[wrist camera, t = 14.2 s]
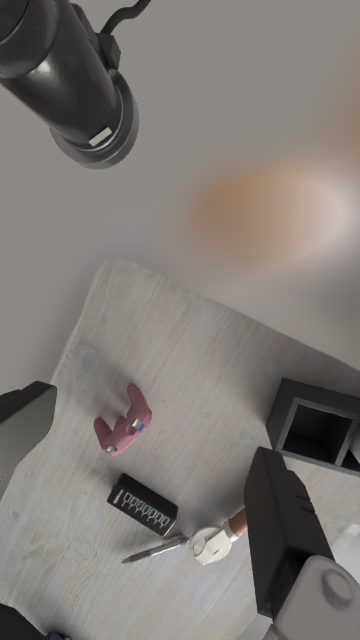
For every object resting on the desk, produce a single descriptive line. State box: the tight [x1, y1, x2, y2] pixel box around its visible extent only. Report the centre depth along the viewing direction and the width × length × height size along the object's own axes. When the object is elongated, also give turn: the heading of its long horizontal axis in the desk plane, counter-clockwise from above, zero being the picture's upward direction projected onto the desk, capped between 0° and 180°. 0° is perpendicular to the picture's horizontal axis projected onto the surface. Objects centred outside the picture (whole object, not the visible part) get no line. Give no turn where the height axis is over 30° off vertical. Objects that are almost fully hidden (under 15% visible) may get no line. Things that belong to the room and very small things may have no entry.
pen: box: [122, 535, 190, 564], centre depth 46 cm, size 1×14×1 cm, turn 121°
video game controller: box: [94, 384, 152, 456], centre depth 39 cm, size 10×5×7 cm, turn 137°
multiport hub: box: [107, 473, 178, 536], centre depth 44 cm, size 4×11×2 cm, turn 59°
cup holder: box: [266, 378, 360, 478], centre depth 35 cm, size 8×15×6 cm, turn 77°
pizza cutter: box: [189, 508, 248, 565], centre depth 42 cm, size 20×6×3 cm, turn 138°
